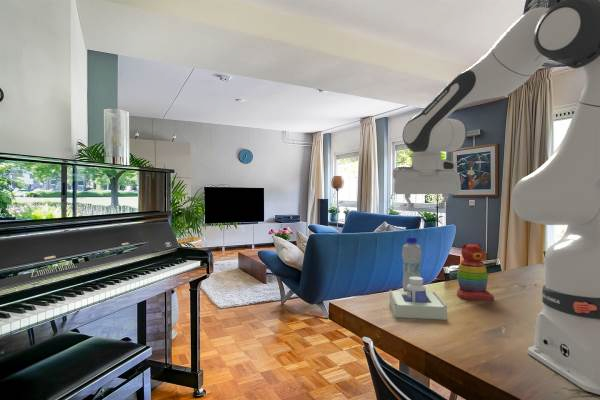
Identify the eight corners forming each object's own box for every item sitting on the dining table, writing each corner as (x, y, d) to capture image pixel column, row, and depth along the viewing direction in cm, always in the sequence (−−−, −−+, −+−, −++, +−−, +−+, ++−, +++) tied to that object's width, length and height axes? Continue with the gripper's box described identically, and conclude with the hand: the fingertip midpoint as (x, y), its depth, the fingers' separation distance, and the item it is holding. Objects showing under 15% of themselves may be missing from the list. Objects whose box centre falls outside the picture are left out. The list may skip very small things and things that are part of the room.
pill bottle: (427, 309, 101) (427, 277, 101) (423, 314, 96) (423, 281, 96) (409, 306, 104) (409, 275, 104) (404, 311, 99) (404, 278, 99)
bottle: (407, 288, 123) (407, 235, 123) (425, 292, 118) (424, 236, 118) (398, 292, 118) (398, 236, 118) (416, 296, 114) (416, 238, 114)
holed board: (447, 319, 92) (447, 306, 92) (395, 317, 94) (395, 303, 94) (434, 303, 106) (434, 291, 106) (389, 301, 108) (389, 290, 108)
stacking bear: (461, 299, 110) (461, 246, 110) (451, 291, 120) (451, 242, 120) (496, 300, 109) (496, 246, 108) (482, 292, 119) (482, 242, 119)
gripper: (394, 165, 105) (394, 208, 105) (462, 163, 102) (462, 208, 102) (391, 166, 111) (391, 208, 111) (455, 165, 108) (456, 208, 108)
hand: (426, 208), depth 107 cm, fingers open, 8 cm apart
